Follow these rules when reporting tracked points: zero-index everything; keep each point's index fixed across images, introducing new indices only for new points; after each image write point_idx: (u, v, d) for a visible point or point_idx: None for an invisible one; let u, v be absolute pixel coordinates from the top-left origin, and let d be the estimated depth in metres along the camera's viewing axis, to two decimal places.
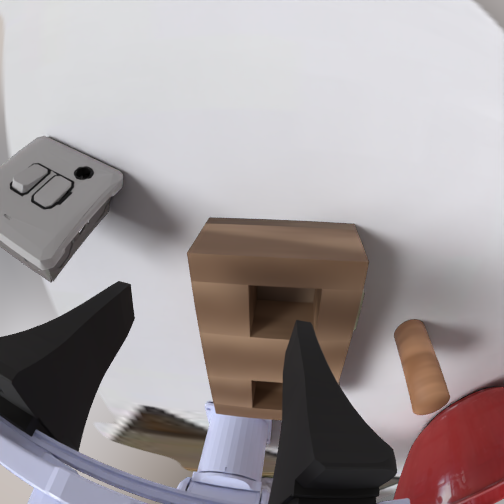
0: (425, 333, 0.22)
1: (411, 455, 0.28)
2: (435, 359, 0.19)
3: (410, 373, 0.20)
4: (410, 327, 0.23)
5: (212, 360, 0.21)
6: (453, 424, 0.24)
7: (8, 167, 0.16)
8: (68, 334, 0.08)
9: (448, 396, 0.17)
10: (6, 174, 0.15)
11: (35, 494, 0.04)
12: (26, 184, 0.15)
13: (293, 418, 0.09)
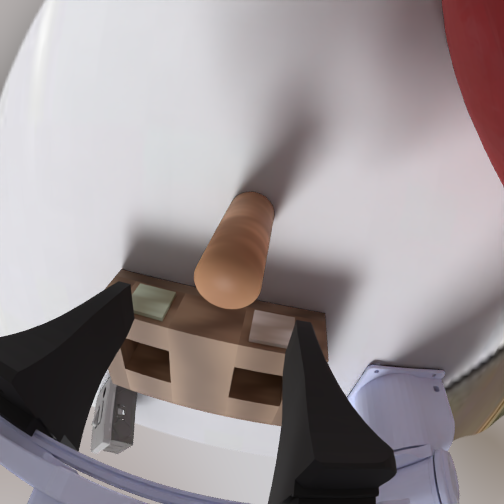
0: (227, 209, 0.19)
1: None
2: (216, 229, 0.16)
3: None
4: None
5: (203, 408, 0.24)
6: (480, 135, 0.11)
7: None
8: (68, 334, 0.08)
9: (211, 256, 0.13)
10: (93, 425, 0.31)
11: (35, 494, 0.04)
12: (93, 421, 0.30)
13: (293, 418, 0.09)
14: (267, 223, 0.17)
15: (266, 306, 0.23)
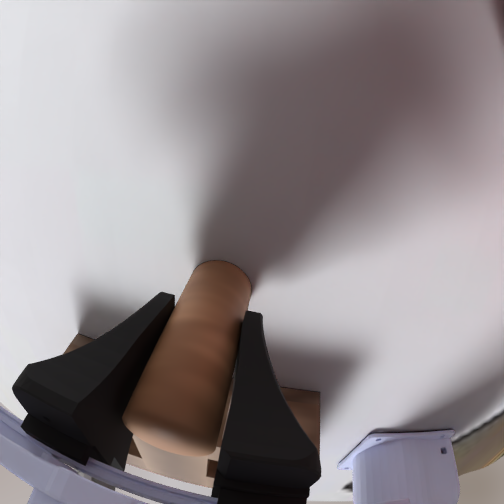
0: (183, 290, 0.13)
1: None
2: (160, 337, 0.10)
3: None
4: None
5: (181, 479, 0.19)
6: None
7: None
8: (120, 353, 0.08)
9: (137, 412, 0.07)
10: None
11: (35, 494, 0.04)
12: None
13: None
14: (235, 322, 0.12)
15: None
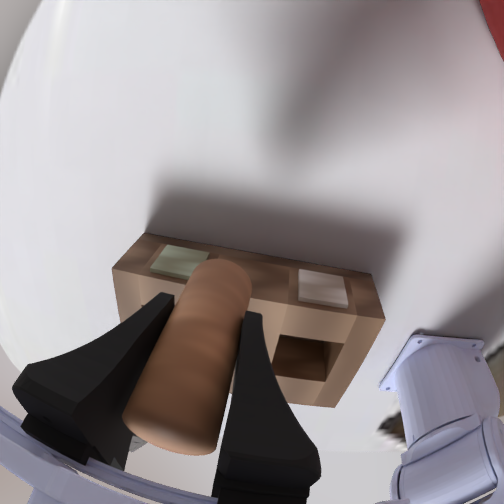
0: (184, 288, 0.13)
1: None
2: (160, 335, 0.10)
3: None
4: None
5: None
6: None
7: None
8: (120, 353, 0.08)
9: (138, 410, 0.07)
10: None
11: (35, 494, 0.04)
12: None
13: None
14: (236, 321, 0.11)
15: (310, 267, 0.21)
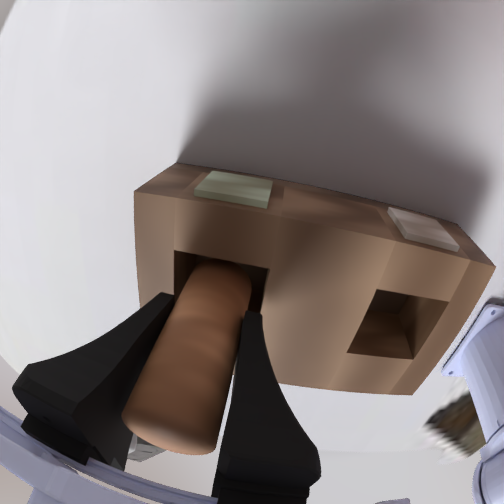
0: (184, 287, 0.13)
1: None
2: (160, 334, 0.10)
3: None
4: None
5: (296, 379, 0.16)
6: None
7: None
8: (120, 353, 0.08)
9: (138, 409, 0.07)
10: None
11: (35, 494, 0.04)
12: None
13: None
14: (236, 321, 0.11)
15: (395, 209, 0.15)
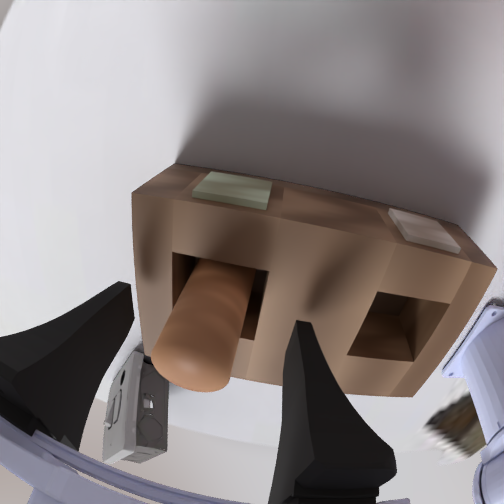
0: None
1: None
2: (183, 289, 0.13)
3: None
4: None
5: None
6: None
7: None
8: (68, 334, 0.08)
9: (168, 343, 0.10)
10: (106, 425, 0.23)
11: (35, 494, 0.04)
12: (107, 419, 0.22)
13: (293, 418, 0.09)
14: (246, 280, 0.14)
15: (396, 210, 0.15)
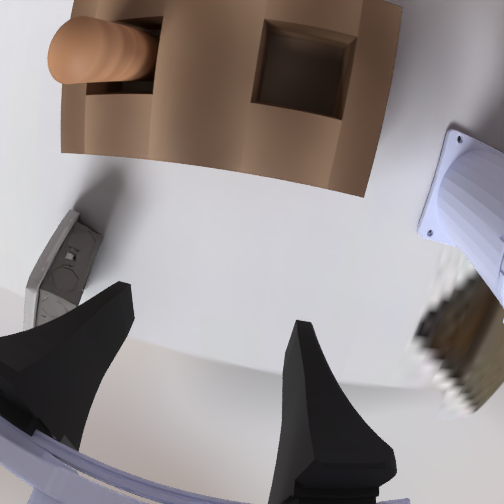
0: None
1: None
2: None
3: None
4: None
5: (201, 154, 0.14)
6: None
7: None
8: (68, 334, 0.08)
9: (63, 26, 0.08)
10: None
11: (35, 494, 0.04)
12: None
13: (293, 418, 0.09)
14: (152, 39, 0.12)
15: None
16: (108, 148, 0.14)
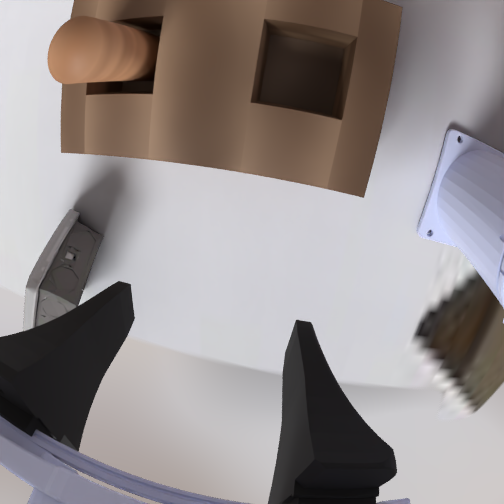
0: None
1: None
2: None
3: None
4: None
5: (201, 154, 0.14)
6: None
7: None
8: (68, 334, 0.08)
9: (63, 26, 0.08)
10: None
11: (35, 494, 0.04)
12: None
13: (293, 418, 0.09)
14: (152, 39, 0.12)
15: None
16: (108, 148, 0.14)
